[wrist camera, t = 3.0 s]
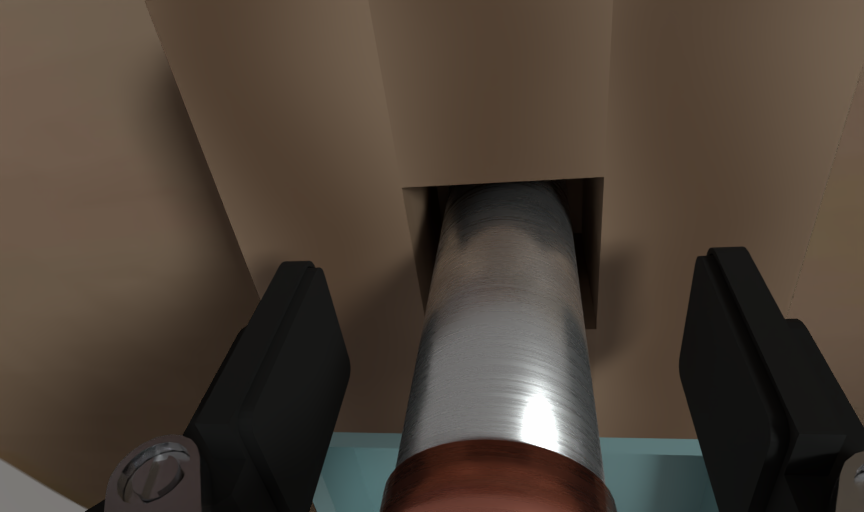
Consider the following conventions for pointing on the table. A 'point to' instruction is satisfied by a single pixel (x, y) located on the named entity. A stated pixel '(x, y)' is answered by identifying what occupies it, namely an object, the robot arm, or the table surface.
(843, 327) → the table surface
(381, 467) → the tray
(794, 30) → the block
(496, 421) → the pin
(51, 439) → the table surface
